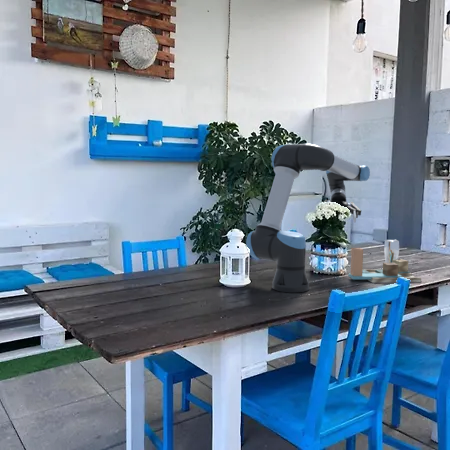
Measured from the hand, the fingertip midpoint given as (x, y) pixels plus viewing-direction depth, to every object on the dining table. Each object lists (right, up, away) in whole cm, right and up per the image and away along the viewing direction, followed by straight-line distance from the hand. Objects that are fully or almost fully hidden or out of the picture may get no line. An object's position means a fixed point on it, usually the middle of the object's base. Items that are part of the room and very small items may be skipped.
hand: (340, 218), depth 218 cm
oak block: (+29, -25, +2) cm, 38 cm away
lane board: (+21, -27, -2) cm, 35 cm away
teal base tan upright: (+14, -27, -8) cm, 31 cm away
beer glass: (+28, -26, +14) cm, 41 cm away
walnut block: (+21, -25, -7) cm, 34 cm away
